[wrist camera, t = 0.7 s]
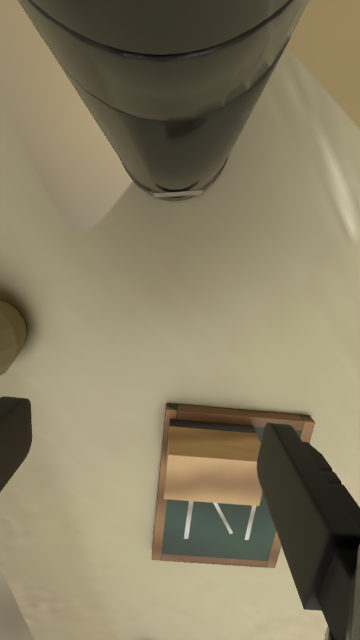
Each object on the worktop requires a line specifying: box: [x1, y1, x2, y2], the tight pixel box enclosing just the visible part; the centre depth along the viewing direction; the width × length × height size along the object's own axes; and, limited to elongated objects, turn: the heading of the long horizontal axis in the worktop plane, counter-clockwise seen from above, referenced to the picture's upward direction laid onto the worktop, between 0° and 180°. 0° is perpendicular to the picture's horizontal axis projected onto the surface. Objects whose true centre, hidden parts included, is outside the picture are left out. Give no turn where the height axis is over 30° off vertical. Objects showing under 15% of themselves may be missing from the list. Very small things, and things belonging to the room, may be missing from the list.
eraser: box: [163, 419, 263, 506], centre depth 25 cm, size 5×9×5 cm, turn 84°
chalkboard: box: [152, 404, 315, 568], centre depth 31 cm, size 22×16×1 cm
